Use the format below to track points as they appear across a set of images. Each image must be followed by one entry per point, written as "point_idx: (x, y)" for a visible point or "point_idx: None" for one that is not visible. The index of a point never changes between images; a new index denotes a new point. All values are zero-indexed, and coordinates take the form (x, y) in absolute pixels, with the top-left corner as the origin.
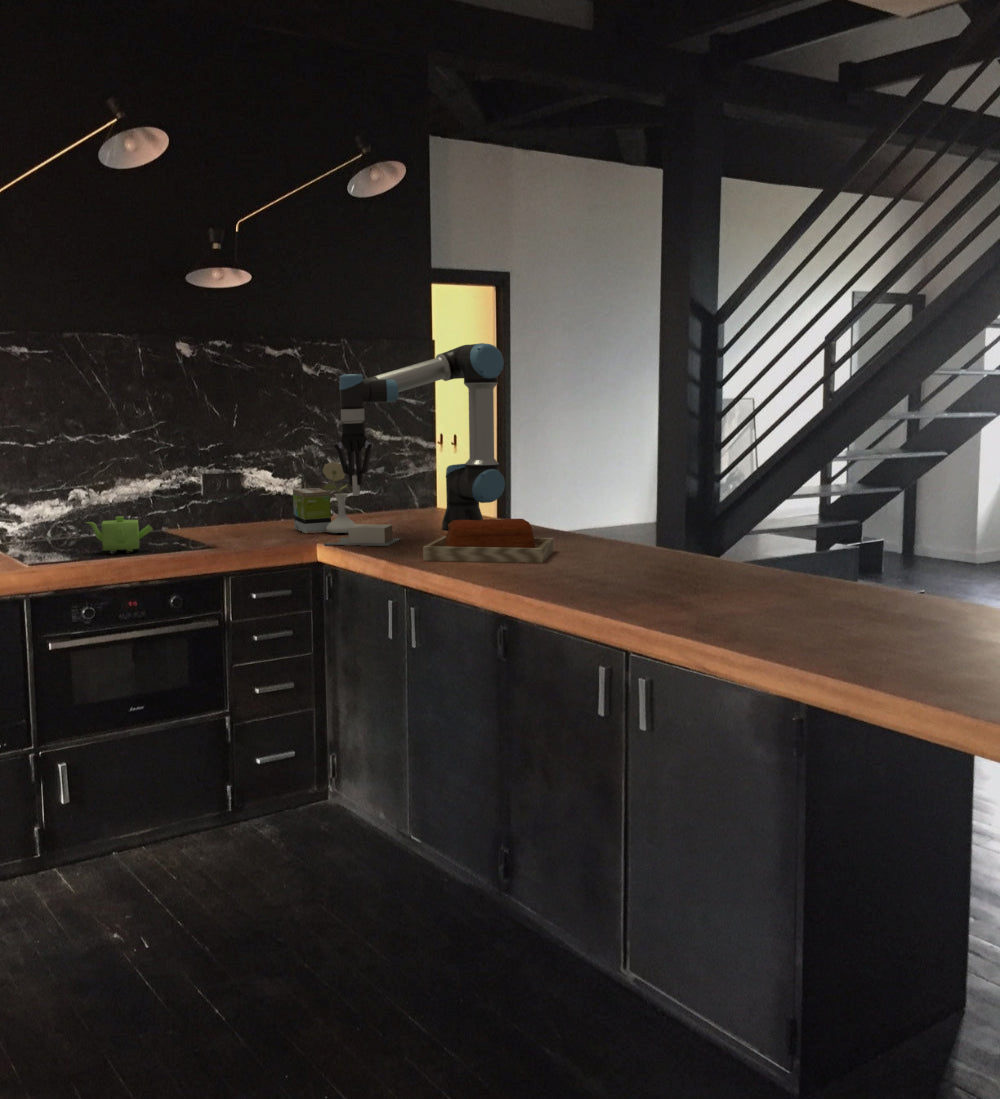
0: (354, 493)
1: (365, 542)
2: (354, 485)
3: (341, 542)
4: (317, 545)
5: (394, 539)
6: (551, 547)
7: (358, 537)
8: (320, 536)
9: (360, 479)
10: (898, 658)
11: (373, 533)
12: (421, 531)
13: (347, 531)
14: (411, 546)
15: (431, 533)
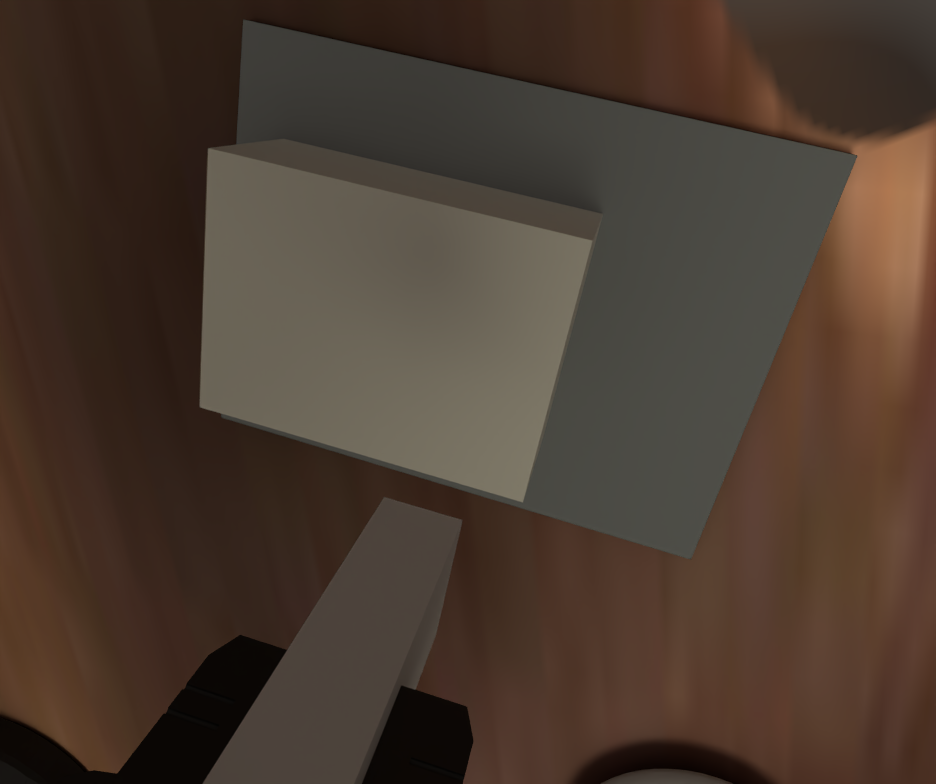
0: (423, 531)
1: (447, 177)
2: (363, 632)
3: (675, 245)
4: (924, 194)
5: None
6: None
7: (502, 198)
8: (855, 737)
9: (155, 730)
10: None
11: (343, 169)
12: None
13: (639, 771)
14: (71, 41)
15: (123, 675)
